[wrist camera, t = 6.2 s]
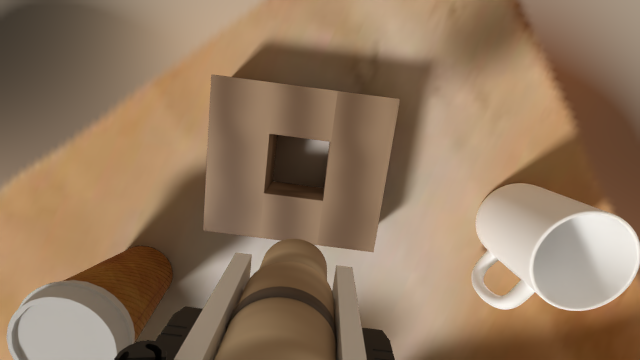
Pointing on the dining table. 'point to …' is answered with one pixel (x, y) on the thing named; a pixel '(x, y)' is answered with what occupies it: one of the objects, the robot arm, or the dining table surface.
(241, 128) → the board
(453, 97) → the dining table surface
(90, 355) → the disposable coffee cup
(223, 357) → the peg
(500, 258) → the cup
